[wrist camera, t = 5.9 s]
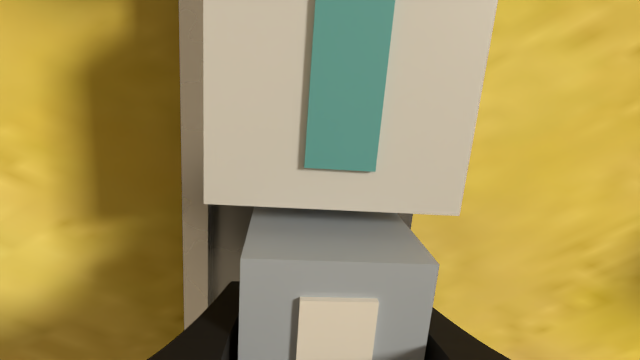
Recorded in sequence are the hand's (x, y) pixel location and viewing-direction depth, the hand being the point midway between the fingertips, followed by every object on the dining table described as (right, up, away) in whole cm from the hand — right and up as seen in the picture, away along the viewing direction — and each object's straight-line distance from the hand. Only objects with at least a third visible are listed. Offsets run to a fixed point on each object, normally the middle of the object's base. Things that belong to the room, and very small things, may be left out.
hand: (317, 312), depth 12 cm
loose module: (0, +1, +2) cm, 3 cm away
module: (0, +7, +1) cm, 7 cm away
